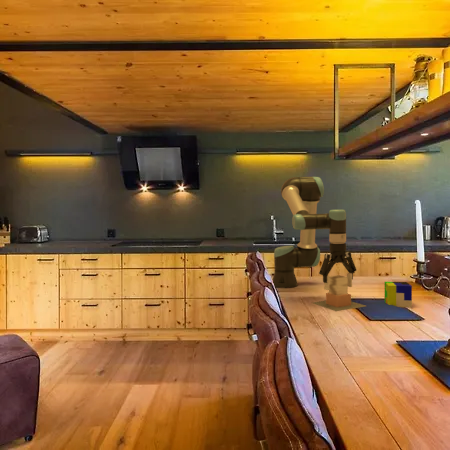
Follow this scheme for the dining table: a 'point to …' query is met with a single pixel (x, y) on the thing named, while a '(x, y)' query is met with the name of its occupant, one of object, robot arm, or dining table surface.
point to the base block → (338, 300)
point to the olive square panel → (353, 305)
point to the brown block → (338, 285)
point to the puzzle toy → (398, 294)
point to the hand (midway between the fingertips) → (338, 288)
